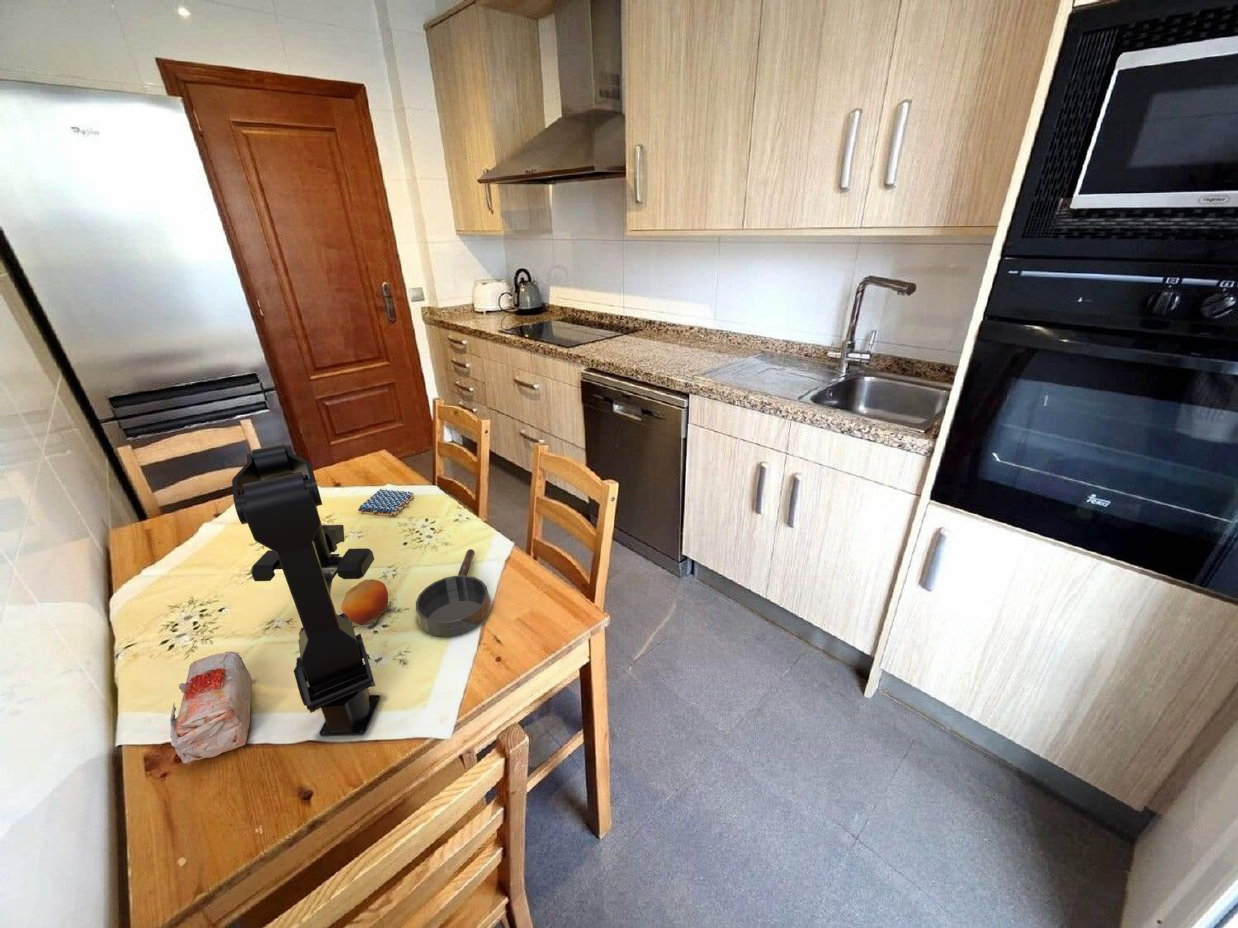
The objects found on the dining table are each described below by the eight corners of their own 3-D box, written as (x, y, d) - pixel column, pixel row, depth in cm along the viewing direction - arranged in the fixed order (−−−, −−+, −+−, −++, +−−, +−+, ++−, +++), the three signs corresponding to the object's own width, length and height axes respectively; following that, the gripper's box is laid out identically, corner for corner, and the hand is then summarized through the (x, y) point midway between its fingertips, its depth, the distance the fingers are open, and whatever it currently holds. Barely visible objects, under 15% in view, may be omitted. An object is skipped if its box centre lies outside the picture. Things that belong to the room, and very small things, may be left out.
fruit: (382, 628, 90) (353, 595, 87) (354, 639, 93) (325, 607, 90) (408, 598, 97) (381, 566, 95) (381, 609, 100) (354, 579, 98)
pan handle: (465, 583, 100) (464, 576, 100) (456, 583, 100) (455, 576, 100) (476, 554, 109) (475, 547, 108) (467, 554, 109) (466, 547, 108)
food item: (255, 748, 71) (231, 700, 67) (184, 777, 67) (154, 729, 63) (257, 679, 81) (237, 634, 77) (196, 701, 78) (171, 655, 73)
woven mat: (416, 497, 134) (415, 490, 133) (395, 518, 125) (393, 511, 124) (380, 493, 136) (379, 487, 135) (356, 514, 126) (355, 507, 125)
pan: (482, 636, 90) (480, 621, 89) (409, 638, 90) (405, 623, 88) (495, 588, 102) (493, 574, 100) (430, 589, 101) (427, 576, 100)
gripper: (376, 505, 94) (392, 572, 101) (274, 507, 93) (297, 574, 100) (351, 539, 84) (370, 611, 91) (235, 541, 83) (264, 613, 90)
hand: (326, 600), depth 93 cm, fingers closed
